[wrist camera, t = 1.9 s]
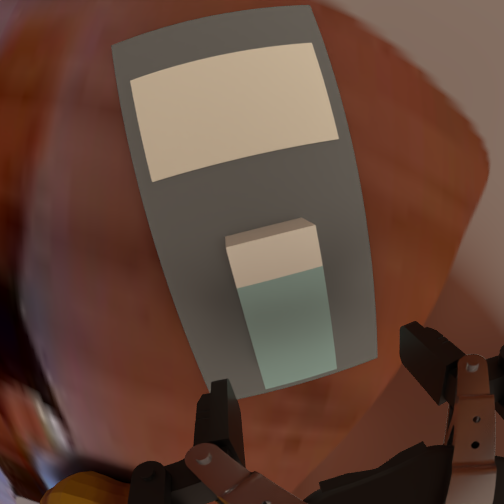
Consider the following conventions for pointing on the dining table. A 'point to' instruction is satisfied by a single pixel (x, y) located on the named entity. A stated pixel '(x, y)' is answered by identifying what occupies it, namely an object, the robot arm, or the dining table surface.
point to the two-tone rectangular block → (284, 300)
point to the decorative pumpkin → (87, 490)
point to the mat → (245, 172)
